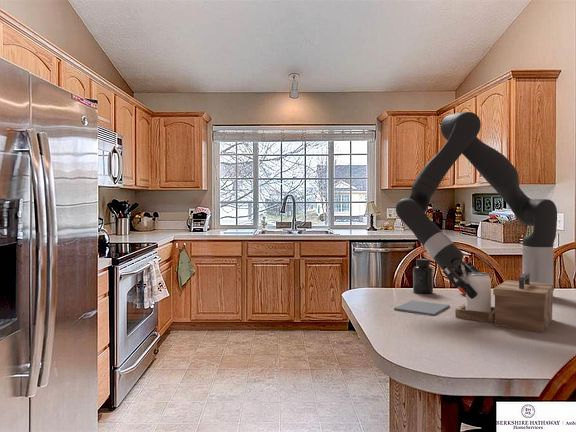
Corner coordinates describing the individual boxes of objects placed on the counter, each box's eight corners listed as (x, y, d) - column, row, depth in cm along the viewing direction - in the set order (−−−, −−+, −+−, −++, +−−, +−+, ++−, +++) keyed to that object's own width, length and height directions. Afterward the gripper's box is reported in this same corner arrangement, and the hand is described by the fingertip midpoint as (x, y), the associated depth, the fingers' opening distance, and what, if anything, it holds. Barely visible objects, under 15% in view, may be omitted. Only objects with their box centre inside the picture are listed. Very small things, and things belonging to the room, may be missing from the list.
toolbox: (468, 308, 133) (468, 266, 132) (553, 319, 119) (553, 273, 119) (451, 319, 119) (451, 273, 119) (544, 333, 106) (545, 281, 106)
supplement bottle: (424, 290, 163) (424, 257, 162) (437, 293, 156) (437, 259, 156) (409, 291, 160) (409, 258, 160) (421, 295, 154) (421, 260, 153)
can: (489, 314, 125) (489, 272, 125) (492, 320, 119) (492, 275, 119) (465, 312, 127) (465, 271, 127) (466, 318, 121) (466, 274, 121)
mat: (411, 302, 142) (411, 300, 142) (449, 307, 135) (449, 305, 135) (394, 310, 131) (393, 308, 131) (434, 315, 124) (434, 313, 124)
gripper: (439, 243, 124) (480, 289, 115) (463, 241, 133) (502, 283, 125) (422, 261, 128) (460, 306, 119) (446, 257, 137) (483, 299, 129)
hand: (481, 294), depth 122 cm, fingers open, 8 cm apart
